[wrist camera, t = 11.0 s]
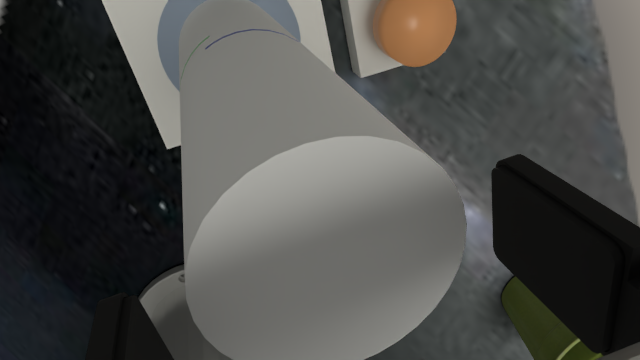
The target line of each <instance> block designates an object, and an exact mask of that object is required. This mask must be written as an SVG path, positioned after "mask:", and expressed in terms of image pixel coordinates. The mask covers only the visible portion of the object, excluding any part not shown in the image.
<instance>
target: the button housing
mask: <svg viewBox="0 0 640 360" xmlns="http://www.w3.org/2000/svg"><path fill="white" fill-rule="evenodd" d="M380 1H381V0H340V4H341V10H342V15H343V21H344V27H345V32H346V38H347V43H348V49H349V55H350V60H351V66H352V71H353V72H354V73H355V74H357V75H358V76H359V77H361V78H363V77H366V76H369V75H373V74H376V73H379V72H382V71H386V70H389V69H392V68H395V67H399V66H402V65H403V64H401V63H399V62H397V61H396V60H394V59H392V58H391V57H389V56H387V55H386V54H384V53H383V52H382V51H381V50H380V48H379V47H378V45H377V43H376V41H375V38H374V34H373V18H374V14H375V11H376V8H377V6H378V4H379V2H380ZM444 52H445V51H444ZM444 52H443V53H444Z"/></svg>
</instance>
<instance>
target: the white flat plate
mask: <svg viewBox="0 0 640 360" xmlns="http://www.w3.org/2000/svg"><path fill="white" fill-rule="evenodd" d="M205 1H207V0H102V2H103V4H104V7H105V9H106V11H107V13H108V16H109V18H110V20H111V23H112V25H113V27H114V29H115V32H116V34H117V36H118V38H119V41H120V43H121V45H122V48H123V50H124V52H125V54H126V57H127V59H128V61H129V63H130V66H131V68H132V70H133V73H134V75H135V77H136V79H137V82H138V84H139V86H140V88H141V91H142V93H143V95H144V98H145V100H146V102H147V104H148V107H149V109H150V111H151V114H152V116H153V118H154V120H155V123H156V125H157V127H158V129H159V132H160V134H161V136H162V139H163V141H164V143H165V145H166V148H167V149H170V148H173V147H176V146H179V145H181V122H180V84H179V37H180V31H181V29H182V26H183V24H184V21H185V20H186V19H187V17H188V16H189V14H190V13H191V12H192V11H193V10H194V9H195V8H196V7H197V6H198V5H200V4H201V3H203V2H205ZM249 1H251V2H253V3H255V4H257V5H258V6H259V7H260V8H262V9H263V10H264V11H265V12H266V13H268V14H269V15H270V16H271V17H272V18H273V19H275V20H276V21H277V22H278V23H279V24H280V25H281V26H283V27H284V28H285V29H286V30H287V31H288V32H289V33H290V34H292V35H293V36H294V37H295V38H296V39H297V40H298V41H299V42H301V43H302V44H303V45H304V46H305V47H306V48H307V49H308V50H310V51H311V52H312V53H313V54H314V55H315V56H316V57H318V58H319V59H320V60H321V61H322V62H323V63H324V64H326V65H327V66H328V67H329V68H330V69H331V70H332V71H334V72H335V69H334V64H333V59H332V54H331V49H330V44H329V39H328V34H327V29H326V24H325V19H324V14H323V9H322V4H321V0H249Z"/></svg>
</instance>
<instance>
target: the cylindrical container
mask: <svg viewBox="0 0 640 360" xmlns="http://www.w3.org/2000/svg"><path fill="white" fill-rule="evenodd" d="M179 84H180V122H181V160H182V198H183V235H184V273H185V290H186V301H187V304H188V307H189V310H190V312H191V315H192V318H193V321H194V323H195V324H196V326H197V327H198V329H199V330H200V332H201V333H202V335H203V336H204V338H205V339H206V340H207V341H209V342H210V343H211V344H212V345H213V346H214V347H215V348H216V349H217V350H218V351H219V352H221V353H222V354H224V355H226V356H227V357H229V358H231V359H233V360H364V359H366V358H368V357H371V356H373V355H375V354H377V353H379V352H381V351H383V350H384V349H386V348H388V347H389V346H391V345H393V344H394V343H396V342H398V341H399V340H400V339H402V338H403V337H404V336H405V335H407V334H408V333H409V332H411V331H412V330H413V329H414V328H416V327H417V326H418V325H419V324H420V323H421V322H422V321H423V320H424V319H425V318H426V317H427V316H428V315H429V314H430V313H431V312H432V311H433V310H434V308H435V307H436V306H437V304H438V303H439V302H440V300H441V299H442V297H443V296H444V295H445V293H446V292H447V290H448V289H449V287H450V285H451V283H452V281H453V279H454V277H455V275H456V273H457V271H458V269H459V266H460V263H461V259H462V256H463V252H464V248H465V242H466V227H467V223H466V217H465V210H464V204H463V202H462V199H461V197H460V194H459V192H458V189H457V187H456V185H455V184H454V183H453V181H452V180H451V178H450V177H449V176H448V174H447V173H446V172H445V170H444V169H443V168H442V167H441V166H440V165H439V164H438V163H437V162H435V161H434V160H433V159H432V158H431V157H430V156H429V155H428V154H426V153H425V152H424V151H423V150H422V149H421V148H420V147H418V146H417V145H416V144H415V143H414V142H413V141H412V140H411V139H409V138H408V137H407V136H406V135H405V134H404V133H403V132H402V131H400V130H399V129H398V128H397V127H396V126H395V125H394V124H392V123H391V122H390V121H389V120H388V119H387V118H386V117H385V116H383V115H382V114H381V113H380V112H379V111H378V110H377V109H376V108H374V107H373V106H372V105H371V104H370V103H369V102H368V101H367V100H365V99H364V98H363V97H362V96H361V95H360V94H359V93H357V92H356V91H355V90H354V89H353V88H352V87H351V86H350V85H348V84H347V83H346V82H345V81H344V80H343V79H342V78H340V77H339V76H338V75H337V74H336V73H335V72H334V71H332V70H331V69H330V68H329V67H328V66H327V65H326V64H324V63H323V62H322V61H321V60H320V59H319V58H318V57H316V56H315V55H314V54H313V53H312V52H311V51H310V50H308V49H307V48H306V47H305V46H304V45H303V44H302V43H301V42H299V41H298V40H297V39H296V38H295V37H294V36H293V35H292V34H290V33H289V32H288V31H287V30H286V29H285V28H284V27H283V26H281V25H280V24H279V23H278V22H277V21H276V20H275V19H273V18H272V17H271V16H270V15H269V14H268V13H266V12H265V11H264V10H263V9H262V8H260V7H259V6H258V5H257V4H255V3H253V2H251V1H249V0H207V1H205V2H203V3H201V4H200V5H198V6H197V7H196V8H195V9H194V10H193V11H192V12H191V13H190V14H189V16H188V17H187V19H186V20H185V21H184V24H183V26H182V29H181V31H180V37H179Z"/></svg>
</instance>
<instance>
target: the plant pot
mask: <svg viewBox="0 0 640 360" xmlns="http://www.w3.org/2000/svg"><path fill="white" fill-rule="evenodd" d="M501 300H502V304H503V307H504V309H505V311H506V312H507V314H508V316H509V318H510V319H511V321H512V323H513V324H514V326H515V328H516V329H517V331H518V333H519V335H520V336H521V338H522V340H523V341H524V343H525V345H526V346H527V348H528V350H529V351H530V353H531V355H532V357H533V358H534V360H596V359H598V358H601V357H603V355H602V354H601V353H599V354H597V353H594V352H592V351H591V350H590V349H589V348H588V347H587V346H586V345H585V344H583V343H582V342H581V341H580V340H579V339H578V338H577V337H576V336H575V335H574V334H573V333H572V332H571V331H570V330H569V329H568V328H567V327H566V326H565V325H564V324H563V323H562V322H561V321H560V320H559V319H558V318H557V317H556V316H555V315H554V314H553V313H552V312H551V311H550V310H549V309H548V308H547V307H546V306H545V305H544V304H543V303H542V302H541V301H540V300H539V299H538V298H537V297H536V296H535V295H534V294H533V293H532V292H531V291H530V290H529V289H528V288H527V287H526V286H525V285H524V284H523V283H522V282H521V281H520V280H519V279H518V278H517V277H516V276H515V277H514V278H513V279H511V281H510V282H509V283H508V284H507V286H506V287H505V289H504V291H503V293H502V298H501Z"/></svg>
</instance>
